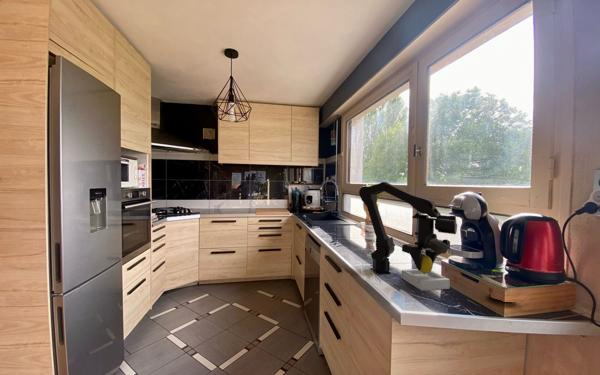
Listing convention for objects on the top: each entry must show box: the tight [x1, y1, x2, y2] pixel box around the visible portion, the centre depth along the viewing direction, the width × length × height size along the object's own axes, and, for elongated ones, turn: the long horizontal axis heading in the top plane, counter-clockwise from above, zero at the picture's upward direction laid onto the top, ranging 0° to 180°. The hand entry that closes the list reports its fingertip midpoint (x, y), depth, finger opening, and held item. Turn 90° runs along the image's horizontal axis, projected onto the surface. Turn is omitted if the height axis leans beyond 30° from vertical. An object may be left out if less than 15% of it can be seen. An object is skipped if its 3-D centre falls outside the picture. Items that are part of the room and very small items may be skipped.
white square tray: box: [401, 268, 451, 291], centre depth 93 cm, size 12×12×4 cm
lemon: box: [420, 254, 434, 274], centre depth 93 cm, size 6×6×8 cm
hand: (424, 269), depth 93 cm, fingers closed on lemon, 5 cm apart
